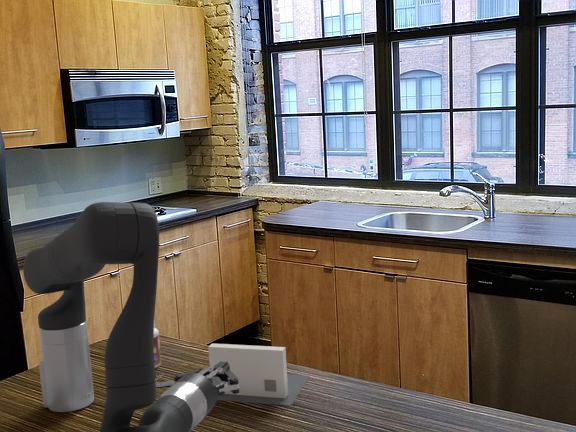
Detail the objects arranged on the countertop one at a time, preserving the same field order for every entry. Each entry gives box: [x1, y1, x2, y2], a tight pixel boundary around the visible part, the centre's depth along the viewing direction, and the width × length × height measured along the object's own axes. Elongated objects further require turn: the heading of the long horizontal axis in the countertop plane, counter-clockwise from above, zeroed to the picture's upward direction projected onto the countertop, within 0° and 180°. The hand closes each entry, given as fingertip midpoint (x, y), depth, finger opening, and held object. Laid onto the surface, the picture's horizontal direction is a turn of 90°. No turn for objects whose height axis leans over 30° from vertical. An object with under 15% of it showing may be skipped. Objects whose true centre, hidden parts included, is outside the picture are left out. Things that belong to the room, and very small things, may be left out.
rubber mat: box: [217, 373, 311, 406], centre depth 141 cm, size 20×15×1 cm
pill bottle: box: [154, 320, 162, 369], centre depth 158 cm, size 6×6×11 cm
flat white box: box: [208, 343, 288, 398], centre depth 137 cm, size 16×2×10 cm, turn 73°
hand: (224, 366), depth 127 cm, fingers closed
